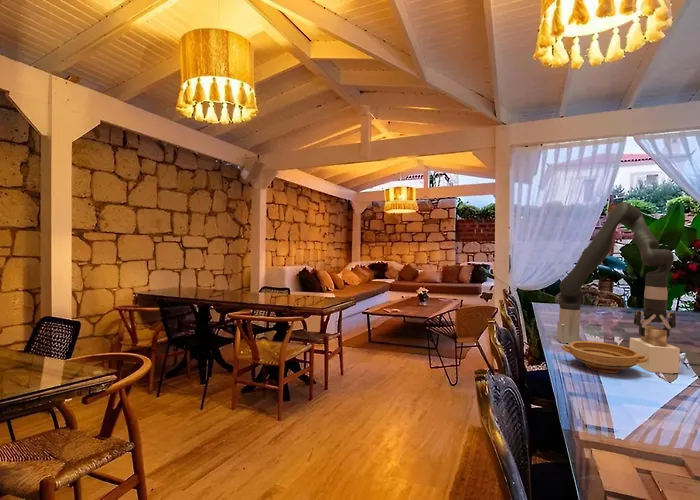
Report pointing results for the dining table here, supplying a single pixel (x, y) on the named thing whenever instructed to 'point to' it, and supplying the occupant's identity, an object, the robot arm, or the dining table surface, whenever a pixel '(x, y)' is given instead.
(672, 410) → the dining table surface
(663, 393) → the dining table surface
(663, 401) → the dining table surface
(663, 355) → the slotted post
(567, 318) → the robot arm
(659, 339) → the tan wooden block
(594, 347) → the ceramic bowl
